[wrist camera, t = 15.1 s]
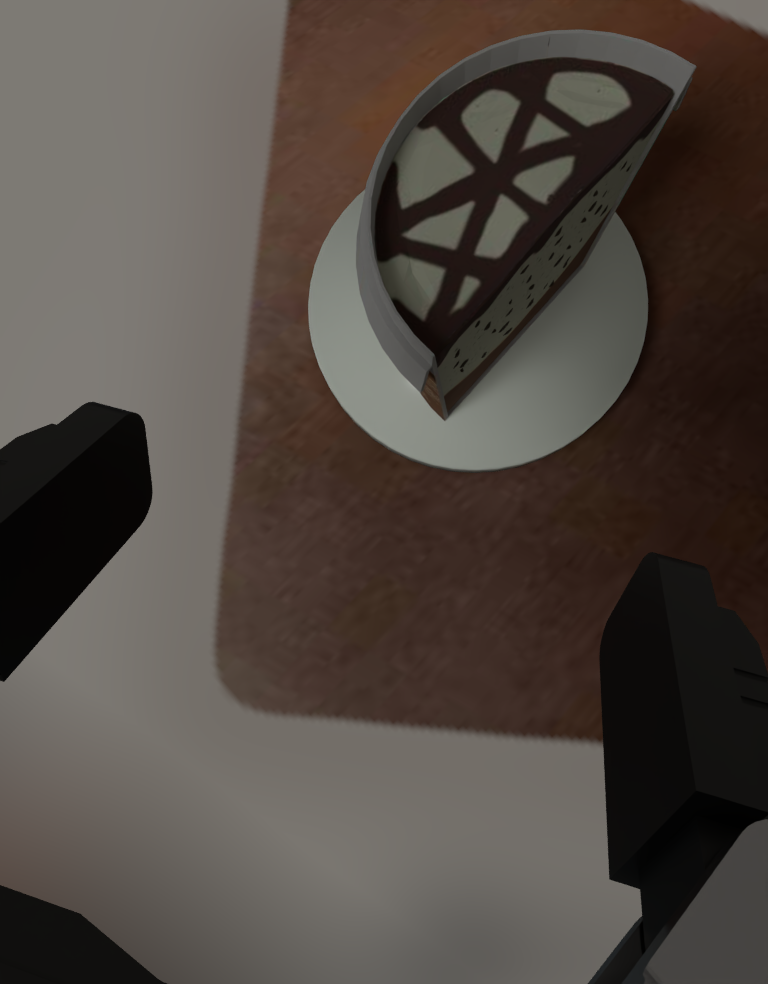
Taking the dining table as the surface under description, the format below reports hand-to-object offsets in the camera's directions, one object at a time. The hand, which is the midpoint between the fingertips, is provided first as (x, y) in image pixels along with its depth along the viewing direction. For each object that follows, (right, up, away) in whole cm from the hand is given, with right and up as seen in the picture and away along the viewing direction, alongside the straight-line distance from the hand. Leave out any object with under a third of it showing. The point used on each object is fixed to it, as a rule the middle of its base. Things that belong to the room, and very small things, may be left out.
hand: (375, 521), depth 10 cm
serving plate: (+4, +9, +19) cm, 21 cm away
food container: (+4, +9, +18) cm, 20 cm away
